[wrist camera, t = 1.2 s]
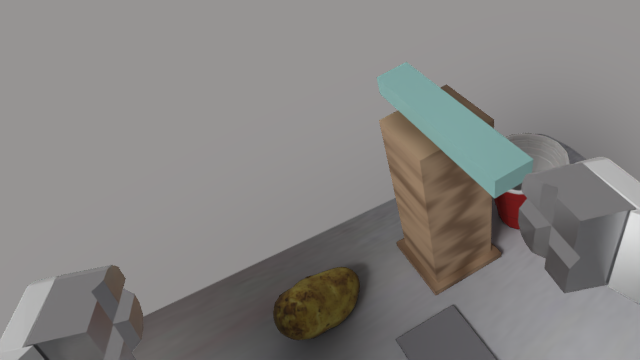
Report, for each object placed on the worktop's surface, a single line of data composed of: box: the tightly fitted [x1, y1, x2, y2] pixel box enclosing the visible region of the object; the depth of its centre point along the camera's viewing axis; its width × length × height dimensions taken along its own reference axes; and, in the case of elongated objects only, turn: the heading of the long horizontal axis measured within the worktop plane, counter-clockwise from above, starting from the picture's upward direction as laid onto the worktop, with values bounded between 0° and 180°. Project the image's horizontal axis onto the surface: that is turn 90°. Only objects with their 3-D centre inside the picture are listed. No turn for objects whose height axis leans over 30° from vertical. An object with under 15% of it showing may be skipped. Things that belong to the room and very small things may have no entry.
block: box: [377, 62, 533, 198], centre depth 47 cm, size 4×20×2 cm, turn 26°
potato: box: [273, 267, 360, 340], centre depth 63 cm, size 8×13×8 cm, turn 111°
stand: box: [379, 85, 501, 295], centre depth 59 cm, size 11×10×26 cm
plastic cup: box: [494, 133, 570, 229], centre depth 65 cm, size 11×11×12 cm
